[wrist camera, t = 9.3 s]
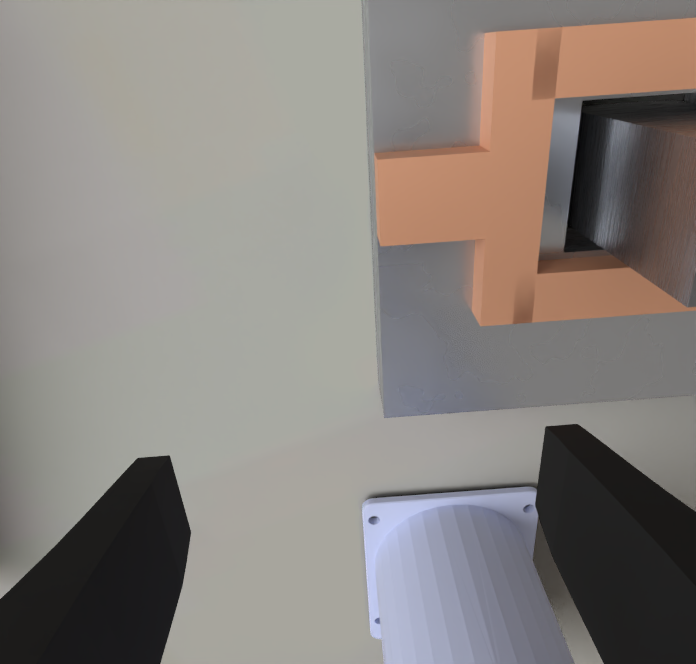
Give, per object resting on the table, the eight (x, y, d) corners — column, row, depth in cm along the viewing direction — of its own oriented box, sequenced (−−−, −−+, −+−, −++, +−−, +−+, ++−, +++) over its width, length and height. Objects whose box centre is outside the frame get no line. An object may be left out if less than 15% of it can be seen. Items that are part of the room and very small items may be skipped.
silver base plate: (724, 355, 22) (769, 389, 20) (378, 380, 22) (384, 417, 20) (875, -162, 15) (974, -200, 12) (355, -127, 15) (362, -159, 12)
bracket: (744, 291, 18) (769, 305, 17) (380, 317, 18) (383, 333, 17) (827, 8, 14) (865, 5, 13) (369, 41, 14) (373, 40, 13)
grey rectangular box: (647, 204, 19) (841, 295, 12) (551, 212, 19) (687, 307, 12) (667, 99, 17) (903, 131, 10) (562, 107, 17) (726, 144, 10)
